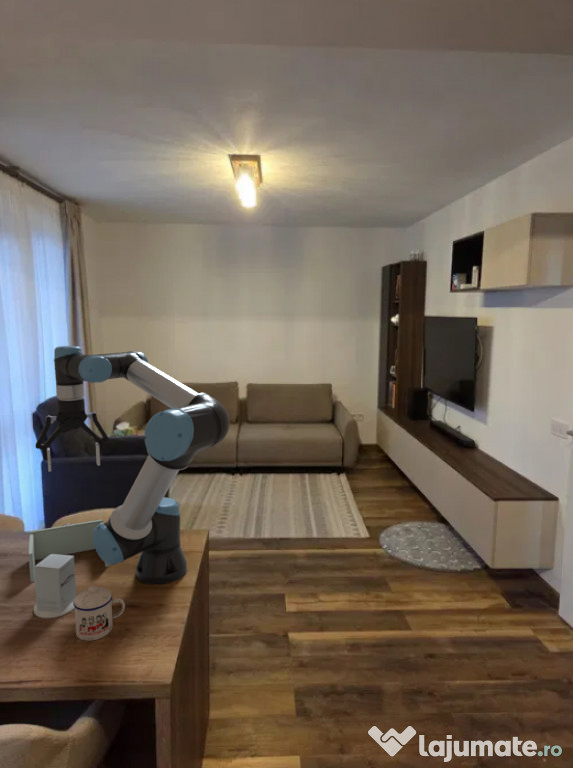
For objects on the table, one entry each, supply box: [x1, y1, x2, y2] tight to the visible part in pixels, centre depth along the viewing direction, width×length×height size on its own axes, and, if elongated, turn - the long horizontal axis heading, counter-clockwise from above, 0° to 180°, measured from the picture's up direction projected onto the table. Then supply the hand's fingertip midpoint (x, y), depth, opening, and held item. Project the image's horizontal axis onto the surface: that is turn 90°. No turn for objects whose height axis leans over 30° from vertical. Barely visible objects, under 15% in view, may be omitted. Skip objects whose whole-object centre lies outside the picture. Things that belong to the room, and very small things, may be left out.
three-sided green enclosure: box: [28, 519, 110, 583], centre depth 158 cm, size 15×22×10 cm
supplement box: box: [34, 554, 77, 613], centre depth 135 cm, size 7×7×13 cm
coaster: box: [33, 600, 75, 619], centre depth 136 cm, size 11×11×1 cm
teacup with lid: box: [73, 585, 126, 642], centre depth 126 cm, size 12×9×12 cm
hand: (74, 467), depth 151 cm, fingers open, 13 cm apart
